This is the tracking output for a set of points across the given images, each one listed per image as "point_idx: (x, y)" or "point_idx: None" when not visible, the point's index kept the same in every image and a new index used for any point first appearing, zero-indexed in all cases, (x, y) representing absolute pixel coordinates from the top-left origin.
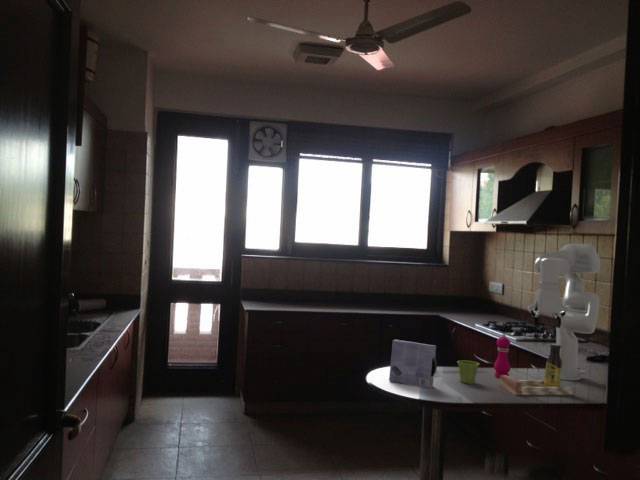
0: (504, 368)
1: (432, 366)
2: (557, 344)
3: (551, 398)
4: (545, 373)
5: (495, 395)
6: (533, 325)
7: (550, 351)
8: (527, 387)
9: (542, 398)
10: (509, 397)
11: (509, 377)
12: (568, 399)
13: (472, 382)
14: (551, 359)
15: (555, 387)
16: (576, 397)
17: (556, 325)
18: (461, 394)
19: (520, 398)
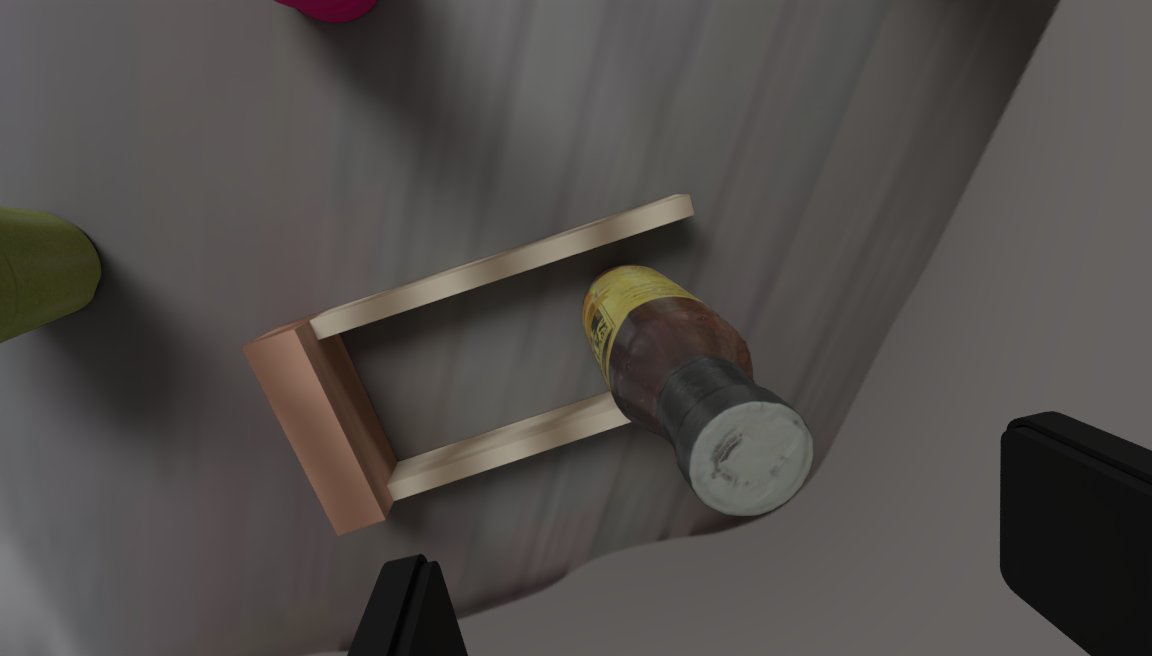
0: (306, 3)
1: None
2: (783, 444)
3: (566, 493)
4: (593, 337)
5: (244, 543)
6: (387, 564)
7: (664, 421)
8: (430, 488)
9: (513, 511)
10: (323, 556)
11: (311, 398)
12: (659, 480)
13: (80, 307)
14: (647, 428)
15: (621, 422)
16: None
17: (1038, 518)
18: (40, 592)
19: (384, 554)
